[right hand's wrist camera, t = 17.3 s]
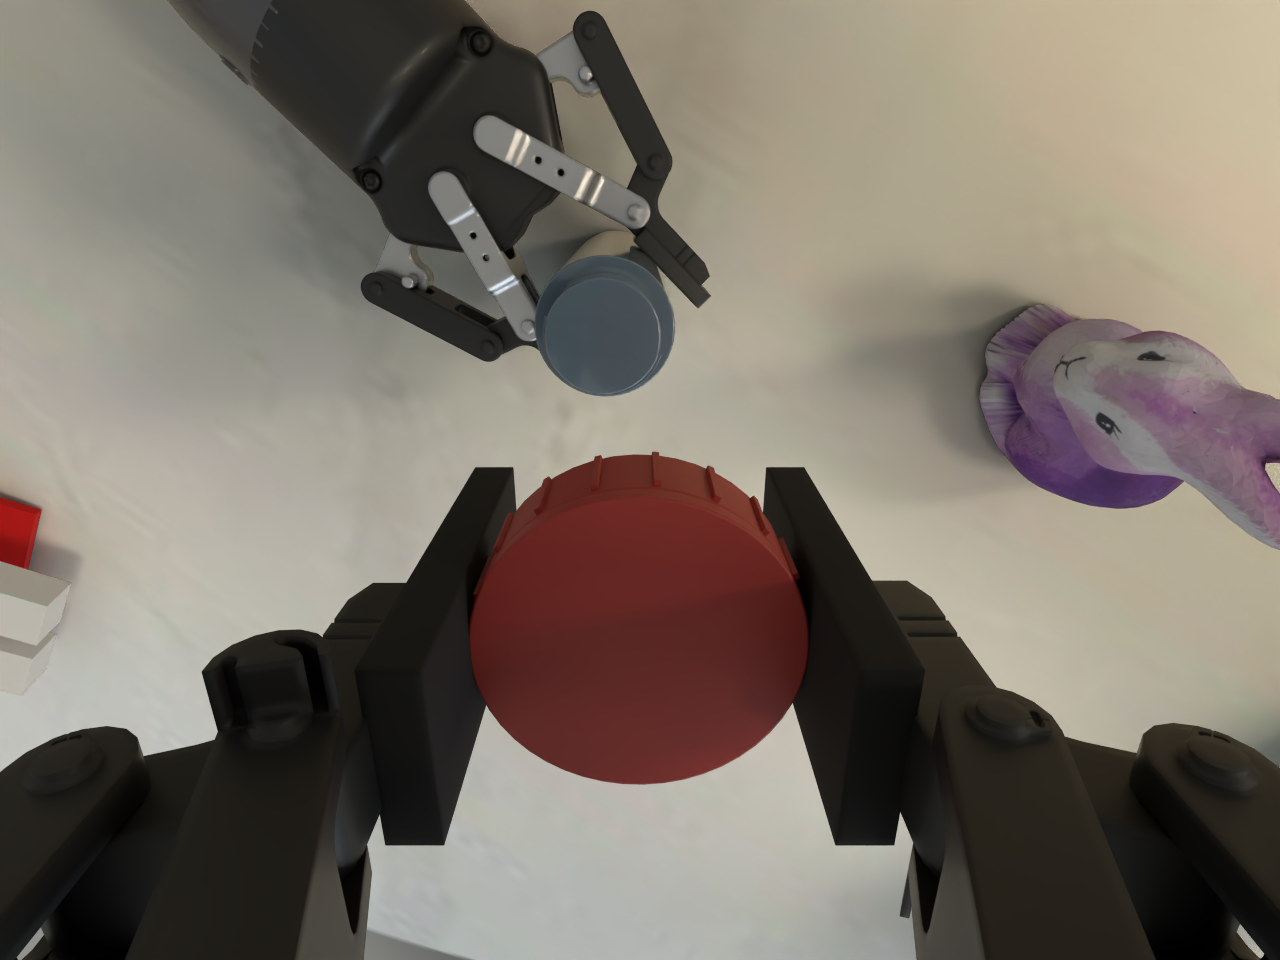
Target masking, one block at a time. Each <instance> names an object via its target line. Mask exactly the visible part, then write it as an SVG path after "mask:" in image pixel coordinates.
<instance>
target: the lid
mask: <svg viewBox="0 0 1280 960" xmlns="http://www.w3.org/2000/svg"><path fill="white" fill-rule="evenodd" d="M492 551H494V554H493V556H492V557H488V559H487V562H486V564H485V566H484V569H483V571H482V574H481V576H480V578H479V581H478V583H477V586H476V588H475V590H474V593H473V598H474V600H475V601H474V604H473V608H472V612H471V616H470V622H469V640H470V650H471V660H472V668H473V676H474V679H475V681H476V684H477V687H478V689H479V692H480V694H481V696H482V698H483V700H484V701H485V703H486V705H487V707H488V708H489V710H490V712H491V713H492V714H493V716H494V717H495V718H496V720H497V721H498V722H499V724H500V725H501V726H502V727H503V728H504V729H505V730H506V731H507V732H508V733H509V734H510V735H511V736H512V737H513V738H514V739H515V740H516V741H517V742H519V743H520V744H521V745H522V746H524V747H525V748H526V749H527V750H529V751H530V752H532V753H533V754H535V755H536V756H538V757H540V758H541V759H543V760H545V761H546V762H548V763H550V764H552V765H555V766H557V767H559V768H561V769H563V770H565V771H568V772H571V773H574V774H577V775H580V776H583V777H587V778H591V779H595V780H599V781H604V782H612V783H620V784H643V785H644V784H657V783H667V782H672V781H678V780H684V779H687V778H691V777H694V776H698V775H701V774H704V773H707V772H709V771H712V770H714V769H717V768H719V767H722V766H723V765H725V764H727V763H729V762H731V761H733V760H735V759H736V758H738V757H740V756H741V755H743V754H744V753H746V752H747V751H749V750H750V749H751V748H753V747H754V746H756V745H757V744H758V743H759V742H760V741H761V740H762V739H763V738H765V737H766V736H767V735H768V734H769V733H770V732H771V731H772V730H773V729H774V727H775V726H776V725H777V724H778V723H779V722H780V721H781V719H782V718H783V717H784V715H785V714H786V712H787V711H788V709H789V708H790V706H791V705H792V703H793V701H794V699H795V697H796V695H797V693H798V690H799V688H800V686H801V683H802V680H803V677H804V673H805V670H806V667H807V660H808V652H809V626H808V620H807V614H806V609H805V606H804V603H803V600H802V597H801V594H800V591H799V589H798V586H797V584H796V582H795V580H797V579H799V578H800V577H799V574H798V572H797V569H796V567H795V565H794V562H793V560H792V557H791V555H790V553H789V550H788V548H787V545H786V543H785V541H784V538H783V537H782V538H779V539H778V537H777V535H776V533H775V531H774V529H773V527H772V525H771V524H770V522H769V521H768V519H767V518H766V517H765V515H764V514H763V512H762V510H761V507H760V505H759V502H758V499H757V498H756V497H755V496H752V497H751V498H749V497H748V496H747V495H746V494H745V493H744V492H743V491H741V490H740V489H739V488H738V487H736V486H735V485H734V484H733V483H731V482H730V481H728V480H726V479H725V478H723V477H721V476H720V475H718V474H716V473H715V471H714V468H713V467H711V466H707V468H706V469H705V468H703V467H701V466H698V465H696V464H693V463H689V462H686V461H682V460H679V459H675V458H669V457H663V456H659V452H652V455H624V456H613V457H608V458H604V459H602V456H601V455H600V456H595V459H594V461H591V462H588V463H585V464H582V465H580V466H577V467H574V468H572V469H570V470H568V471H566V472H564V473H562V474H560V475H558V476H556V477H554V478H553V479H551V478H550V477H547V478H545V479H544V480H543V483H542V486H541V487H540V488H538V489H537V490H536V491H535V492H534V493H533V494H532V495H531V496H530V497H528V498H527V499H526V500H525V501H524V502H523V504H522V505H521V506H520V507H519V508H518V510H517V511H516V512H515V513H514V514H512V513H511V512H509V513H508V515H507V516H506V519H505V521H504V523H503V526H502V528H501V531H500V533H499V536H498V538H497V540H496V543H495V545H494V548H493V550H492Z"/></svg>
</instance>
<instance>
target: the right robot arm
mask: <svg viewBox="0 0 1280 960" xmlns="http://www.w3.org/2000/svg"><path fill="white" fill-rule="evenodd" d="M509 512H511V513H512V514H514V513H515V512H516V499H515V484H514V470H513V467H475V469H474V471H473V472H472V474H471V476H470V477H469V479H468V481H467V482H466V484H465V486H464V487H463V489H462V491H461V492H460V494H459V496H458V497H457V499H456V501H455V502H454V504H453V506H452V507H451V509H450V511H449V512H448V514H447V516H446V517H445V519H444V521H443V522H442V524H441V526H440V527H439V529H438V531H437V532H436V534H435V536H434V537H433V539H432V541H431V542H430V544H429V546H428V547H427V549H426V551H425V552H424V554H423V556H422V557H421V559H420V561H419V563H418V564H417V566H416V568H415V569H414V571H413V573H412V574H411V576H410V578H409V579H408V581H407V583H372V584H371V585H369V586H368V587H366V588H365V589H363V590H362V591H360V592H359V593H357V594H356V595H355V596H353V597H352V598H350V599H349V600H348V601H347V602H346V604H345V605H344V606H343V608H342V609H341V611H340V612H339V613H338V615H337V616H336V618H335V619H334V620H335V621H334V623H331V625H330V626H329V627H328V629H327V630H326V632H325V633H324V634H323V637H321V636H320V635H319V634H317V633H313V632H309V631H304V630H278V631H274V632H269V633H265V634H260V635H256V636H253V637H250V638H248V639H246V640H243V641H241V642H238V643H236V644H234V645H231V646H230V647H228V648H227V649H225V650H224V651H222V652H221V653H219V654H218V655H216V656H215V657H213V659H212V660H211V661H210V662H209V663H208V665H207V666H206V667H205V668H204V669H203V671H202V675H203V679H204V682H205V686H206V690H207V693H208V697H209V701H210V704H211V708H212V711H213V715H214V719H215V722H216V726H217V730H218V733H217V735H216V738H215V740H212V741H209V742H205V743H202V744H198V745H194V746H189V747H184V748H180V749H175V750H170V751H166V752H161V753H156V754H152V755H147V756H143V753H142V750H141V747H140V744H139V741H138V738H137V737H136V736H135V735H134V734H132V733H131V732H130V731H128V730H127V729H123V728H116V727H109V726H105V727H97V728H89V729H82V730H79V731H75V732H71V733H69V734H64V735H62V736H59V737H56V738H53V739H51V740H50V741H48V742H46V743H44V744H42V745H40V746H38V747H36V748H34V749H32V750H30V751H28V752H26V753H25V754H23V755H22V756H21V757H19V758H18V759H17V760H15V761H14V762H13V763H11V764H10V765H9V766H7V767H6V768H5V769H3V770H2V771H1V772H0V960H18V959H17V956H18V955H19V954H20V952H21V951H22V950H23V949H24V947H25V946H26V945H27V944H28V942H29V941H30V940H31V939H32V937H33V936H34V935H35V934H36V932H37V931H38V930H39V928H40V927H41V929H42V931H43V933H44V936H43V937H42V938H41V940H40V941H39V942H38V943H37V945H36V946H35V947H34V948H33V950H32V951H31V952H30V953H28V954H27V955H26V956H25V957H24V958H23V959H22V960H364V950H365V940H366V929H367V919H368V909H369V898H370V888H371V878H372V870H371V864H370V858H369V852H368V847H367V843H368V841H369V838H370V836H371V834H372V831H373V829H374V826H375V824H376V822H377V819H378V817H379V814H380V818H381V823H382V829H383V835H384V840H385V845H444V844H445V841H446V837H447V834H448V831H449V827H450V824H451V821H452V817H453V814H454V811H455V807H456V804H457V801H458V797H459V794H460V790H461V787H462V784H463V780H464V777H465V774H466V770H467V767H468V764H469V760H470V757H471V754H472V750H473V747H474V744H475V740H476V737H477V734H478V730H479V727H480V724H481V720H482V717H483V714H484V710H485V707H486V703H485V701H484V700H483V698H482V696H481V694H480V692H479V689H478V687H477V684H476V681H475V679H474V676H473V668H472V660H471V650H470V640H469V622H470V616H471V612H472V608H473V604H474V601H475V600H474V598H473V593H474V590H475V588H476V586H477V583H478V581H479V578H480V576H481V574H482V571H483V569H484V566H485V564H486V562H487V559H488V557H492V556H493V554H494V551H492V550H493V548H494V545H495V543H496V540H497V538H498V536H499V533H500V531H501V528H502V526H503V523H504V521H505V519H506V516H507V515H508V513H509ZM763 514H764V515H765V517H766V518H767V519H768V521H769V522H770V524H771V525H772V527H773V529H774V531H775V533H776V535H777V537H778V539H779V538H782V537H783V538H784V541H785V543H786V545H787V548H788V550H789V553H790V555H791V557H792V560H793V562H794V565H795V567H796V569H797V572H798V574H799V577H800V578H799V579H797V580H795V582H796V584H797V586H798V589H799V591H800V594H801V597H802V600H803V603H804V606H805V609H806V614H807V620H808V626H809V652H808V660H807V667H806V670H805V673H804V677H803V680H802V683H801V686H800V688H799V690H798V693H797V695H796V697H795V699H794V701H793V705H794V709H795V712H796V715H797V719H798V722H799V725H800V729H801V732H802V735H803V739H804V742H805V745H806V749H807V752H808V755H809V759H810V762H811V765H812V769H813V772H814V775H815V779H816V782H817V785H818V789H819V792H820V795H821V799H822V802H823V805H824V809H825V812H826V815H827V819H828V822H829V825H830V829H831V832H832V835H833V839H834V842H835V845H894V843H895V838H896V832H897V827H898V821H899V815H900V812H901V814H902V817H903V819H904V822H905V824H906V826H907V829H908V831H909V833H910V836H911V838H912V841H913V847H912V852H911V858H910V863H909V868H908V873H907V879H906V884H905V889H904V894H903V899H902V905H901V912H900V916H901V917H905V918H909V917H910V912H911V907H912V917H913V927H914V938H915V948H916V958H917V960H1280V768H1279V767H1278V766H1277V765H1275V764H1274V763H1272V762H1271V761H1270V760H1268V759H1267V758H1266V757H1264V756H1263V755H1262V754H1260V753H1259V752H1258V751H1256V750H1255V749H1253V748H1251V747H1249V746H1247V745H1245V744H1243V743H1241V742H1239V741H1237V740H1235V739H1233V738H1231V737H1230V736H1228V735H1225V734H1222V733H1220V732H1217V731H1212V730H1211V729H1206V728H1202V727H1199V726H1192V725H1185V724H1177V723H1170V724H1163V725H1156V726H1153V727H1152V728H1151V729H1149V730H1148V731H1147V732H1145V733H1144V734H1143V736H1142V739H1141V742H1140V745H1139V748H1138V751H1137V753H1133V752H1128V751H1124V750H1119V749H1114V748H1110V747H1105V746H1100V745H1096V744H1091V743H1086V742H1082V741H1078V740H1075V739H1071V738H1068V737H1065V736H1064V734H1063V732H1062V730H1061V728H1060V727H1059V726H1058V724H1057V723H1056V721H1055V720H1054V718H1053V717H1052V716H1051V715H1050V714H1049V713H1048V712H1046V711H1045V710H1044V709H1042V708H1041V707H1040V706H1038V705H1037V704H1036V703H1035V702H1033V701H1031V700H1029V699H1026V698H1024V697H1022V696H1020V695H1018V694H1016V693H1014V692H1011V691H1007V690H1003V689H1000V688H997V687H996V686H995V685H994V683H993V682H992V680H991V679H990V678H989V676H988V675H987V674H986V672H985V671H984V669H983V668H982V667H981V665H980V664H979V662H978V661H977V660H976V658H975V657H974V656H973V654H972V653H971V651H970V650H969V649H968V647H967V646H966V644H965V643H964V642H963V640H962V639H961V637H957V632H956V631H955V629H954V628H953V626H952V625H951V624H950V622H949V621H946V619H945V615H944V614H943V613H942V611H941V610H940V608H939V607H938V606H937V604H936V603H935V601H934V600H933V599H932V597H930V596H929V595H927V594H926V593H924V592H923V591H921V590H920V589H918V588H917V587H915V586H914V585H912V584H911V583H909V582H908V581H872V580H871V578H870V577H869V575H868V573H867V572H866V570H865V568H864V567H863V565H862V563H861V562H860V560H859V558H858V557H857V555H856V553H855V552H854V550H853V548H852V547H851V545H850V543H849V542H848V540H847V538H846V537H845V535H844V533H843V532H842V530H841V528H840V527H839V525H838V523H837V522H836V520H835V518H834V516H833V515H832V513H831V511H830V510H829V508H828V506H827V505H826V503H825V501H824V500H823V498H822V496H821V495H820V493H819V491H818V490H817V488H816V486H815V485H814V483H813V481H812V480H811V478H810V476H809V475H808V473H807V471H806V470H805V468H804V467H766V478H765V492H764V507H763ZM1240 924H1241V925H1242V926H1243V928H1244V929H1245V930H1246V931H1247V933H1248V934H1249V935H1250V936H1251V938H1252V939H1253V940H1254V941H1255V943H1256V944H1257V945H1258V946H1259V948H1260V949H1261V950H1262V951H1263V953H1264V956H1263V957H1262V958H1259V957H1258V956H1257V955H1256V954H1255V953H1254V952H1253V951H1252V950H1251V949H1250V948H1249V947H1248V946H1247V945H1246V944H1245V942H1244V941H1243V940H1242V938H1241V937H1240V936H1239V935H1238V933H1237V929H1238V927H1239V925H1240Z"/></svg>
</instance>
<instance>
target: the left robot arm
mask: <svg viewBox="0 0 1280 960" xmlns="http://www.w3.org/2000/svg"><path fill="white" fill-rule="evenodd" d="M168 1H169V3H170V4H171V5H172V6H173V7H174V9H175V10H176V11H177V12H178V13H179V15H180V16H181V17H182V18H183V19H184V20H185V22H186V23H187V24H188V25H189V26H190V27H191V28H192V29H193V30H194V31H195V32H196V33H197V34H198V35H199V36H200V37H201V38H202V39H203V40H204V41H205V42H206V43H207V44H208V45H209V46H210V47H211V48H212V49H213V50H214V51H215V52H216V53H217V54H218V55H219V56H220V58H221V59H222V62H223V63H224V64H225V65H226V66H227V67H228V68H229V69H230V70H232V71H233V72H234V73H235V74H236V75H237V76H238V77H239V78H240V79H241V80H242V81H243V82H244V83H246V84H247V85H248V84H249V85H250V86H252V87H253V88H255V89H256V90H257V91H258V92H259V93H260V94H261V95H262V96H263V97H264V98H265V99H266V100H267V101H269V102H270V103H271V104H272V105H273V106H274V107H275V108H276V109H277V110H278V111H279V112H280V113H281V114H282V115H284V116H285V117H286V118H287V119H288V120H289V121H290V122H291V123H292V124H293V125H294V126H295V127H296V128H297V129H298V130H299V131H300V132H302V133H303V134H304V135H305V136H306V137H307V138H308V139H309V140H310V141H311V142H312V143H313V144H314V145H315V146H317V147H318V148H319V149H320V150H321V151H322V152H323V153H324V154H325V155H326V156H327V157H328V158H329V159H330V160H331V161H333V162H334V163H335V164H336V165H337V166H338V167H339V168H340V169H341V170H342V171H343V172H344V173H345V174H346V175H348V176H349V177H350V178H351V179H352V180H353V181H354V182H355V183H356V184H357V185H358V186H359V187H360V188H362V189H363V190H364V191H365V192H366V193H367V194H368V195H369V196H370V198H371V199H372V200H373V202H374V203H375V205H376V206H377V208H378V210H379V212H380V215H381V217H382V220H383V223H384V225H385V227H386V228H387V230H388V231H389V232H390V235H389V237H388V240H387V242H386V245H385V247H384V250H383V252H382V255H381V257H380V260H379V262H378V265H377V267H376V270H375V271H374V272H373V273H370V274H368V275H366V276H365V277H364V278H363V280H362V282H361V291H362V293H363V295H364V297H365V298H366V299H367V300H368V301H369V302H371V303H373V304H375V305H377V306H379V307H381V308H383V309H385V310H386V311H388V312H390V313H392V314H394V315H396V316H398V317H400V318H402V319H404V320H406V321H408V322H410V323H412V324H413V325H415V326H417V327H419V328H421V329H423V330H425V331H427V332H429V333H431V334H433V335H435V336H437V337H439V338H440V339H442V340H444V341H446V342H448V343H450V344H452V345H454V346H456V347H458V348H460V349H462V350H464V351H466V352H467V353H469V354H471V355H473V356H475V357H477V358H479V359H481V360H483V361H487V362H490V361H494V360H496V359H498V358H499V357H500V355H502V354H504V353H506V352H508V351H510V350H512V349H514V348H516V347H519V346H522V345H529V346H532V347H535V348H536V349H538V350H539V348H538V345H537V341H536V336H535V326H534V324H535V313H536V308H537V304H538V301H539V298H540V294H539V293H538V291H537V289H536V287H535V285H534V284H533V282H532V280H531V278H530V276H529V274H528V271H527V268H526V266H525V263H524V262H523V260H522V258H521V256H520V254H519V253H518V251H517V249H516V247H515V243H516V242H517V241H518V240H519V239H520V238H521V237H522V236H523V234H524V233H525V231H526V229H527V227H528V225H529V223H530V221H531V219H532V217H533V215H534V214H536V213H537V212H539V211H540V210H542V209H543V208H545V207H547V206H548V205H550V204H551V203H552V202H553V201H554V199H555V198H556V197H557V196H558V195H559V194H560V193H561V192H562V193H563V194H565V195H567V196H569V197H571V198H573V199H575V200H577V201H578V202H580V203H582V204H585V205H587V206H589V207H591V208H593V209H595V210H596V211H598V212H600V213H602V214H604V215H606V216H607V217H609V218H611V219H613V220H615V221H617V222H619V223H620V224H622V225H624V226H626V227H627V228H628V229H629V230H630V231H631V232H632V233H633V234H634V235H635V236H634V237H633V242H634V243H635V244H636V245H637V246H638V247H639V248H640V249H641V250H642V251H643V252H644V253H645V254H646V255H647V256H648V257H649V258H650V259H651V260H652V261H653V262H654V263H655V264H656V265H657V266H658V268H659V269H660V270H661V271H662V272H663V273H664V274H665V275H666V276H667V277H668V278H669V279H670V280H671V281H672V282H673V283H674V284H675V285H676V286H677V287H678V288H679V289H680V290H681V291H682V293H683V294H684V295H685V296H686V297H687V298H688V299H689V300H690V301H691V302H692V303H693V304H694V305H695V306H696V307H697V308H699V307H700V306H701V305H702V304H703V303H704V302H705V301H706V300H707V299H708V298H709V297H710V294H709V293H708V292H707V290H706V289H705V288H704V287H703V286H702V283H703V282H704V281H705V280H706V279H707V278H708V277H709V273H708V270H707V268H706V265H705V263H704V262H703V261H702V260H701V259H700V258H699V257H698V255H697V254H696V253H695V252H694V251H693V250H692V249H691V248H690V247H689V246H688V245H687V244H686V243H685V242H684V240H683V239H682V238H681V237H680V236H679V235H678V234H677V233H676V232H675V231H674V230H673V229H672V228H671V227H670V226H669V224H668V223H667V222H666V221H665V220H664V219H663V218H662V217H661V215H660V213H659V210H658V197H659V194H660V192H661V190H662V187H663V185H664V183H665V180H666V178H667V176H668V174H669V172H670V170H671V167H672V156H671V154H670V152H669V150H668V148H667V146H666V144H665V142H664V140H663V138H662V136H661V133H660V131H659V129H658V127H657V125H656V123H655V121H654V119H653V117H652V115H651V113H650V111H649V109H648V107H647V105H646V103H645V101H644V99H643V97H642V95H641V93H640V91H639V89H638V87H637V85H636V83H635V81H634V79H633V77H632V75H631V73H630V71H629V68H628V66H627V64H626V62H625V60H624V58H623V56H622V54H621V52H620V50H619V48H618V46H617V44H616V42H615V40H614V38H613V36H612V34H611V32H610V30H609V28H608V26H607V24H606V22H605V20H604V18H603V17H602V16H601V15H600V14H598V13H597V12H594V11H586V12H583V13H581V14H580V15H579V16H578V17H577V18H576V20H575V22H574V26H573V31H572V32H570V33H568V34H567V35H565V36H564V37H562V38H561V39H559V40H558V41H556V42H555V43H553V44H552V45H550V46H549V47H547V48H546V49H544V50H543V51H541V52H540V53H538V54H537V55H534V54H533V53H531V52H530V51H528V50H526V49H523V48H519V47H516V46H513V45H511V44H509V43H507V42H505V41H504V40H502V39H501V38H499V37H498V36H497V34H496V33H495V32H494V31H493V30H492V29H491V28H490V27H489V26H488V25H487V24H486V23H485V22H484V21H483V19H482V18H481V17H480V16H479V15H478V14H477V13H476V12H475V11H474V10H473V9H472V8H471V7H470V5H469V4H468V3H467V2H466V1H465V0H168ZM555 81H566V82H568V83H570V84H571V85H572V86H573V87H574V89H575V90H576V91H577V93H578V94H580V95H581V96H583V97H593V96H596V95H597V94H599V93H600V92H601V94H602V96H603V98H604V100H605V102H606V104H607V106H608V108H609V110H610V112H611V114H612V116H613V118H614V120H615V122H616V124H617V126H618V128H619V130H620V132H621V134H622V136H623V137H624V139H625V141H626V143H627V145H628V147H629V149H630V151H631V153H632V155H633V157H634V159H635V161H636V163H637V166H636V169H635V171H634V173H633V176H632V178H631V180H630V183H629V185H628V188H625V187H623V186H622V185H620V184H618V183H616V182H614V181H612V180H611V179H609V178H607V177H605V176H603V175H602V174H600V173H598V172H596V171H594V170H593V169H591V168H589V167H587V166H585V165H583V164H582V163H580V162H578V161H576V160H574V159H573V158H571V157H569V156H567V155H565V153H564V148H563V142H562V137H561V131H560V126H559V121H558V115H557V110H556V104H555V99H554V93H553V88H552V83H553V82H555ZM417 245H419V246H425V247H431V248H437V249H444V250H450V251H456V252H462V253H466V255H467V257H468V259H469V260H470V262H471V264H472V265H473V267H474V269H475V271H476V272H477V274H478V276H479V277H480V279H481V281H482V283H483V284H484V286H485V287H486V289H487V290H488V291H489V292H490V293H491V294H492V295H493V296H494V297H495V299H496V301H497V302H498V304H499V306H500V308H501V309H502V311H503V313H504V314H505V317H503V318H501V319H499V320H497V319H495V318H493V317H491V316H489V315H487V314H485V313H483V312H482V311H480V310H478V309H476V308H474V307H472V306H470V305H468V304H467V303H465V302H463V301H461V300H459V299H457V298H455V297H453V296H452V295H450V294H448V293H446V292H444V291H442V290H440V289H438V288H436V287H435V286H433V282H434V277H433V273H432V271H431V270H430V268H429V267H428V266H426V265H425V264H424V263H423V262H422V261H421V260H420V259H419V257H418V254H417ZM485 256H486V257H487V259H488V260H487V259H486V258H485Z"/></svg>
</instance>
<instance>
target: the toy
mask: <svg viewBox="0 0 1280 960" xmlns="http://www.w3.org/2000/svg"><path fill="white" fill-rule="evenodd" d="M40 514H41V509H37V508H34V507H31V506H27V505H24V504H20V503H17V502H13V501H10V500H7V499H3V498H0V690H1V691H5V692H9V693H12V694H16V695H20V696H23V694H24V693H25V692H26V691H27V690H28V689H29V688H30V687H31V686H32V685H33V683H34V682H35V681H36V680H37V679H38V678H39V677H40V676H41V675H42V674H43V673H44V671H45V670H46V669H47V666H48V662H49V659H50V655H51V652H52V648H53V645H54V641H55V638H56V635H57V634H55V633H52V632H50V631H51V630H52V629H53V628H54V627H55V626H56V625H57V624H58V623H59V622H60V621H61V617H62V614H63V611H64V607H65V604H66V600H67V597H68V593H69V590H70V586H71V583H70V582H67V581H63V580H60V579H57V578H53V577H50V576H47V575H44V574H40V573H37V572H34V571H31V570H28V566H29V562H30V558H31V553H32V549H33V545H34V540H35V536H36V531H37V527H38V523H39V518H40Z"/></svg>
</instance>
